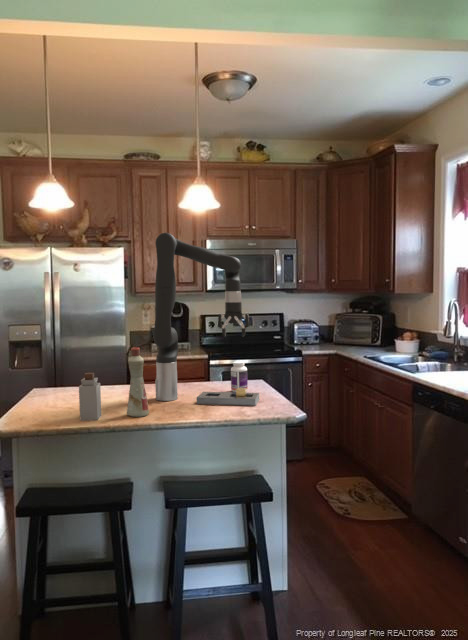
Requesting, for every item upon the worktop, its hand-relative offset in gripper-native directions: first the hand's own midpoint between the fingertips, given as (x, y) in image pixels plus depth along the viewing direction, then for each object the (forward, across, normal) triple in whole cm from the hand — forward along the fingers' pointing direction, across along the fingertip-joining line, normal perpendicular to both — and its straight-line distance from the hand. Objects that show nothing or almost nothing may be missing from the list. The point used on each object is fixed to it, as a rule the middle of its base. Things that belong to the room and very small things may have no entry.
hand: (233, 336), depth 235 cm
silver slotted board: (+28, -1, -10) cm, 30 cm away
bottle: (+28, -33, -37) cm, 57 cm away
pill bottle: (+28, 0, +12) cm, 31 cm away
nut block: (+28, +5, -10) cm, 30 cm away
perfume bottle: (+28, -50, -44) cm, 72 cm away
